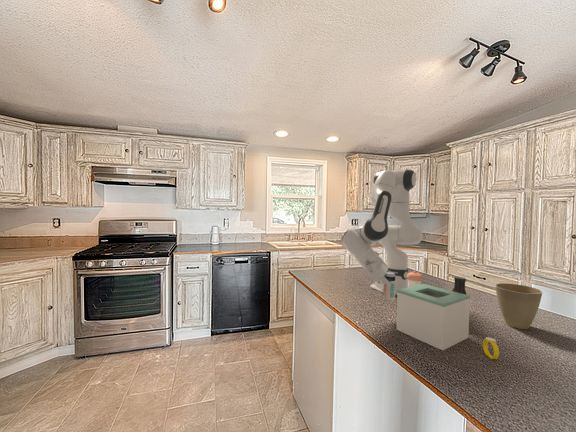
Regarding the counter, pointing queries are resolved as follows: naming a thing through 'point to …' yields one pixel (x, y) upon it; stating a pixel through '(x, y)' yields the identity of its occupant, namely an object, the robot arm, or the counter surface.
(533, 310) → the plant pot
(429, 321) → the recycling bin
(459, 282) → the sauce bottle
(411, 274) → the pepper shaker
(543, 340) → the counter surface
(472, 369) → the counter surface
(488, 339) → the watch
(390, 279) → the beer can
